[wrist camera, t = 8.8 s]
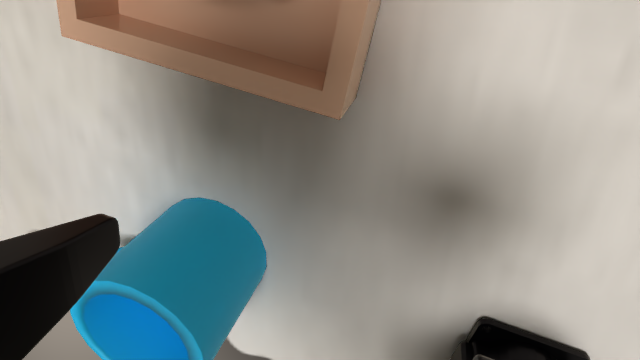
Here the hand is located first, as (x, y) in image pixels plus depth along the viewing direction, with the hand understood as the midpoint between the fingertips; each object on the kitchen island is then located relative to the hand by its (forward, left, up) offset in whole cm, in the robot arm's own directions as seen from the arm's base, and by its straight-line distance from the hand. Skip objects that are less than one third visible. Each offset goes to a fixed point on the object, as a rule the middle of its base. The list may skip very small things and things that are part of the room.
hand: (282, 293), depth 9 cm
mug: (+10, +13, -13) cm, 21 cm away
